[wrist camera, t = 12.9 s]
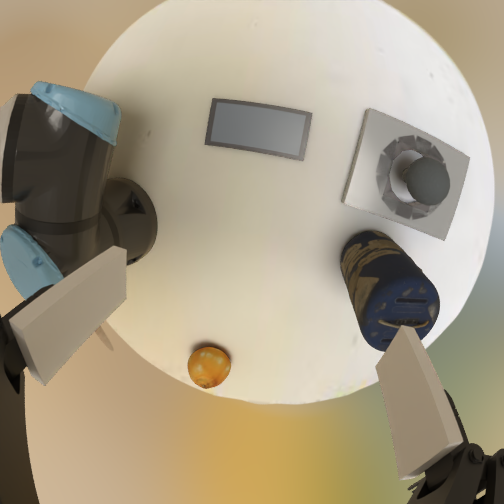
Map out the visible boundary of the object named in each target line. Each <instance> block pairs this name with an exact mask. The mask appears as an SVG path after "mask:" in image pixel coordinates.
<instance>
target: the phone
mask: <svg viewBox="0 0 504 504" xmlns="http://www.w3.org/2000/svg"><path fill="white" fill-rule="evenodd" d="M311 118H312V113H310V112H305V111H301V110H296V109H291V108H285V107H280V106H274V105H267V104H261V103H254V102H246V101H238V100H228V99H217V98H213V99H212V104H211V109H210V115H209V121H208V127H207V133H206V139H205V145H213V146H220V147H227V148H234V149H241V150H247V151H253V152H259V153H264V154H270V155H275V156H280V157H285V158H290V159H295V160H300V161H303V160H304V155H305V150H306V145H307V140H308V135H309V129H310V124H311Z"/></svg>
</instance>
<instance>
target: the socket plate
mask: <svg viewBox="0 0 504 504" xmlns="http://www.w3.org/2000/svg"><path fill="white" fill-rule="evenodd" d="M405 150H414V151H416V152H418V153H420V154H422V155H423V157H430V158H433V159H435V160H438V161H439V162H440V163H441V164H442V165H443V166H444V167H445V168H446V170H447V172H448V174H449V178H450V189H449V193H448V195H447V197H446V198H445V199H444V200H443V201H442V202H441V203H439V204H436V205H430V206H427V205H424V204H421V203H419V202H418V201H417V202H412V203H408V204H407V203H405V202H402V201H400V200H399V199H398V198H397V196H396V195H395V194H394V192H393V191H392V189H391V183H390V178H389V173H390V169H391V166H392V162H393V160H394V159H395V158H396V157H397V156H398V155H399V154H400V153H401V152H402V151H405ZM469 161H470V157H468V156H467V155H465V154H463V153H462V152H460V151H458V150H457V149H455V148H453V147H451V146H450V145H448V144H446V143H444V142H443V141H441V140H439V139H437V138H435V137H433V136H431V135H429V134H428V133H426V132H424V131H422V130H420V129H417V128H415V127H413V126H411V125H409V124H407V123H405V122H403V121H400V120H398V119H396V118H393V117H391V116H389V115H386V114H384V113H381V112H379V111H376V110H374V109H371V108H369V109H367V110H366V113H365V118H364V122H363V126H362V130H361V134H360V138H359V142H358V146H357V149H356V153H355V157H354V160H353V164H352V168H351V171H350V175H349V178H348V182H347V185H346V188H345V192H344V195H343V198H342V203H343V204H345V205H348V206H351V207H354V208H357V209H360V210H363V211H366V212H369V213H372V214H375V215H378V216H381V217H384V218H386V219H389V220H392V221H395V222H397V223H400V224H403V225H405V226H408V227H411V228H413V229H416V230H418V231H421V232H423V233H426V234H428V235H431V236H433V237H436V238H438V239H441V240H443V241H445V239H446V236H447V233H448V231H449V228H450V225H451V222H452V220H453V217H454V214H455V211H456V208H457V205H458V201H459V198H460V195H461V191H462V188H463V184H464V181H465V177H466V173H467V169H468V165H469Z"/></svg>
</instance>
